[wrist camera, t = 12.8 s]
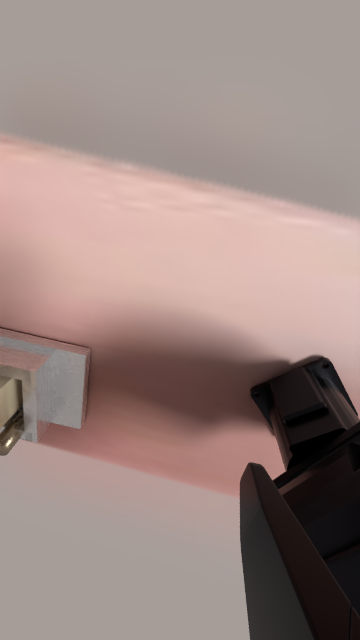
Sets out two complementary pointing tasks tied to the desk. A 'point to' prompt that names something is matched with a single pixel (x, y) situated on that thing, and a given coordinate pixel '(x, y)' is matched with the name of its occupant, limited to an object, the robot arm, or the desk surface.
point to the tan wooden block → (9, 398)
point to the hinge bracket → (43, 385)
